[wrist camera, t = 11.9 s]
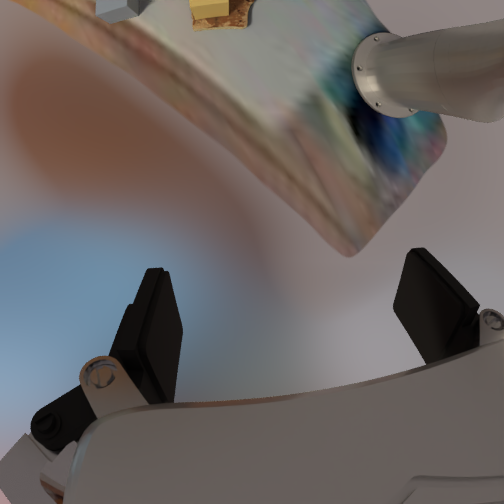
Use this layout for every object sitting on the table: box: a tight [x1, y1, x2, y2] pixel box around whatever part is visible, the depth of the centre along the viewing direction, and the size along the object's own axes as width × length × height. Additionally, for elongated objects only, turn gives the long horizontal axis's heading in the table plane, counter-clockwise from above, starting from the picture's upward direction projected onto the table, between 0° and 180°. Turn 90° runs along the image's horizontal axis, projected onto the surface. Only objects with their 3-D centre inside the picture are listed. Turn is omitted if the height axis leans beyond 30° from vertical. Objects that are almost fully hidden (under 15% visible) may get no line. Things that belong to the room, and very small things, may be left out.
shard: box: [192, 0, 254, 31], centre depth 24 cm, size 11×8×2 cm
